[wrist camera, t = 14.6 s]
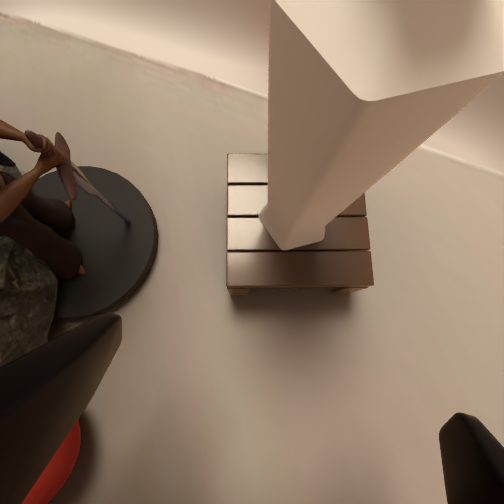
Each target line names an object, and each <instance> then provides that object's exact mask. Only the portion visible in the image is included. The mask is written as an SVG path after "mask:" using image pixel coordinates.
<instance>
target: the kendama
mask: <svg viewBox="0 0 504 504" xmlns="http://www.w3.org/2000/svg"><path fill="white" fill-rule="evenodd" d="M80 443H81V432H80V425H79V421H78V420H77V421H76V423H75V424H74V426H73V427H72V429H71V430H70V432H69V434H68V435H67V437H66V438H65V440H64V441H63V443H62V444H61V446H60V447H59V449H58V450H57V452H56V453H55V455H54V456H53V458H52V459H51V461H50V462H49V464H48V465H47V467H46V468H45V470H44V471H43V473H42V474H41V476H40V477H39V479H38V480H37V482H36V483H35V485H34V486H33V488H32V489H31V491H30V492H29V494H28V495H27V497H26V498H25V500H24V501H23V503H22V504H47V503H48V502H49V501H50V500H51V499H52V498H53V497H54V496H55V495H56V494H57V493H58V492H59V490H60V489H61V488H62V486H63V485H64V483H65V482H66V480H67V479H68V477H69V475H70V474H71V472H72V470H73V468H74V465H75V463H76V461H77V457H78V454H79V450H80Z"/></svg>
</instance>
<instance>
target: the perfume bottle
mask: <svg viewBox="0 0 504 504" xmlns="http://www.w3.org/2000/svg"><path fill="white" fill-rule="evenodd" d="M503 74H504V0H269V93H268V203H267V204H266V206H265V207H264V208H263V209H262V210H261V211H260V213H259V215H258V217H259V219H260V221H261V222H262V224H263V225H264V226H265V228H266V229H267V231H268V232H269V234H270V235H271V236H272V238H273V239H274V241H275V242H276V244H277V245H278V246H279V248H280V249H281V250H289V249H293V248H297V247H300V246H304V245H308V244H311V243H315V242H319V241H321V240H323V239H324V234H325V226H326V225H327V224H328V223H329V222H330V221H332V220H333V219H334V218H335V217H336V216H337V215H339V214H340V213H341V212H342V211H343V210H344V209H346V208H347V207H348V206H349V205H350V204H351V203H353V202H354V201H355V200H356V199H357V198H359V197H360V196H361V195H362V194H363V193H364V192H366V191H367V190H368V189H369V188H370V187H371V186H373V185H374V184H375V183H376V182H377V181H378V180H380V179H381V178H382V177H383V176H384V175H386V174H387V173H388V172H389V171H390V170H391V169H393V168H394V167H395V166H396V165H397V164H398V163H400V162H401V161H402V160H403V159H404V158H405V157H407V156H408V155H409V154H410V153H411V152H413V151H414V150H415V149H416V148H417V147H418V146H420V145H421V144H422V143H423V142H424V141H425V140H427V139H428V138H429V137H430V136H431V135H432V134H433V133H435V132H436V131H437V130H438V129H439V128H441V127H442V126H443V125H444V124H445V123H446V122H448V121H449V120H450V119H451V118H452V117H454V116H455V115H456V114H457V113H458V112H459V111H461V110H462V109H463V108H464V107H465V106H467V104H469V103H470V102H471V101H472V100H474V99H475V98H476V97H477V96H478V95H479V94H481V93H482V92H483V91H484V90H485V89H486V88H488V87H489V86H490V85H491V84H492V83H493V82H495V81H496V80H497V79H498V78H499V77H501V76H502V75H503Z"/></svg>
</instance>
